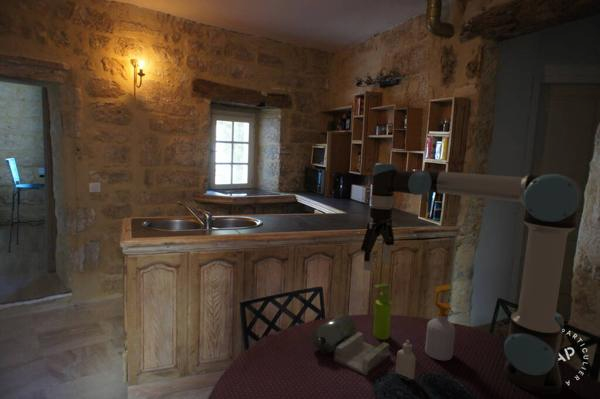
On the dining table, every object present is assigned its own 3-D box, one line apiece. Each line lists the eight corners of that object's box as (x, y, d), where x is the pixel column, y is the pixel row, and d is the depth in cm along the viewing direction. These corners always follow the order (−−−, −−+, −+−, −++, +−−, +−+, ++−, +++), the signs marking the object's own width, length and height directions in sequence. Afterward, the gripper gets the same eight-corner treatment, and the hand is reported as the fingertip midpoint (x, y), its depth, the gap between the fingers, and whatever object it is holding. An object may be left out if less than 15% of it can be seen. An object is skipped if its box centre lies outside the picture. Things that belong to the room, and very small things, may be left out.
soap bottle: (455, 363, 123) (462, 292, 120) (426, 358, 125) (433, 289, 122) (449, 349, 132) (456, 283, 129) (423, 345, 134) (429, 280, 130)
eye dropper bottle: (407, 371, 117) (410, 335, 116) (415, 382, 112) (418, 345, 110) (394, 371, 117) (397, 336, 115) (401, 383, 111) (405, 345, 110)
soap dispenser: (367, 332, 141) (371, 282, 138) (383, 330, 143) (387, 281, 140) (375, 340, 136) (379, 288, 133) (391, 338, 138) (396, 286, 135)
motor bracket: (389, 355, 126) (391, 330, 125) (362, 378, 112) (364, 351, 111) (336, 332, 140) (337, 310, 139) (306, 351, 126) (307, 326, 125)
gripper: (387, 203, 142) (383, 256, 145) (353, 209, 123) (349, 270, 126) (406, 205, 137) (401, 261, 140) (373, 212, 118) (368, 276, 121)
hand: (376, 265), depth 133 cm, fingers open, 13 cm apart
